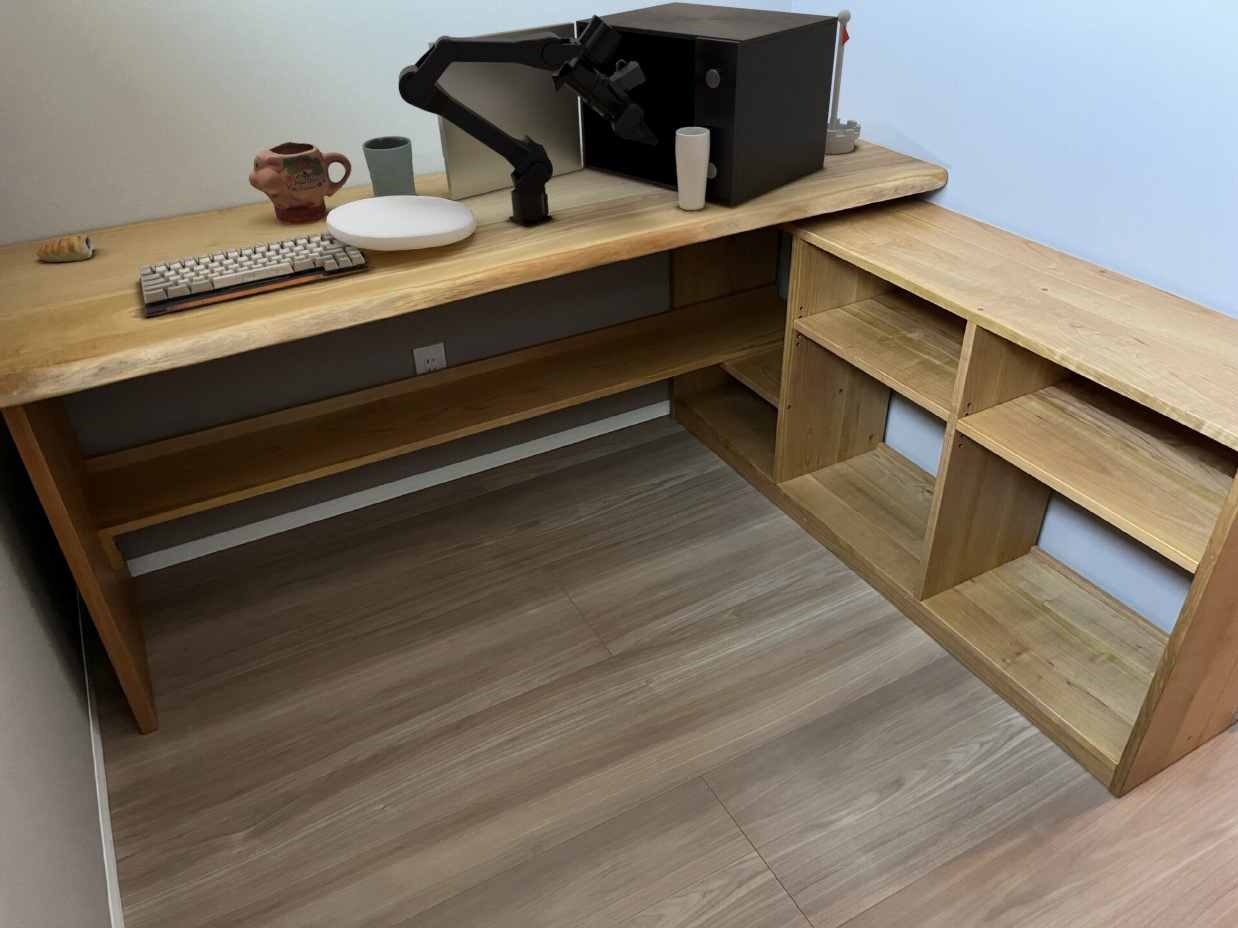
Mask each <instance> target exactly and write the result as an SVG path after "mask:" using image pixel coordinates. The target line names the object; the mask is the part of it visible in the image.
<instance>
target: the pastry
mask: <svg viewBox="0 0 1238 928" xmlns="http://www.w3.org/2000/svg"><path fill="white" fill-rule="evenodd" d="M93 250H95V243H94V242H93V241H92V239H91V238H90V236H89V235H88V234H86V233H83V234H80V235H68V236H63V237H62V238H56V239H55V240H53V241H51V242H49V243H47V244H45V245H43V246H41V247H39V248H38V250H36V252H35V254H36V255H37V257H38V258H39V259H40V260H42V261H44V262H50V263H53V262H54V263H55V262H56V263H57V262H58V263H60V262H73V261H84V260H86V259H90V258H91V257H92V255H93Z"/></svg>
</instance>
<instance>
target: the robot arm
mask: <svg viewBox="0 0 1238 928" xmlns="http://www.w3.org/2000/svg"><path fill="white" fill-rule="evenodd" d="M599 17H600V16H598V15H597V14H593V15H592V16H591V17H590V18H591V20H590V22H589V24H588V26H587V27H586V29H585V30H584V31H583V33H582V34H581V36H580V37H579V38H578V40H577V37H575V38H572V37H571V38H559V37H558V36H557V35H556V34H554V33H552V32H540V33H535V34H529V35H526V36H522V37H518V38H467V37H468V36H465V37H464V36H463V37H461V36H459V37H458V36H457V37H456V36H450V35H441V36H439V37H438V38H437V39H436V40H435V42H436V43H435V44H434V45H433V46H432V47H431V48H430V49H429V48H428V50H427V51H425V53H424V54H423V55H422V56H421V57H419V59H418V60H417V61H416V62H415V63H414V64H409V65H407V66H405V67H404V68H402V69H401V71H400V72H399V75H398V92H399V95H400V98H401V99H402V100H403V101H404V102H405V103H406V104H408V105H411V106H413V107H415V108H417V109H419V110H422V111H425V112H427V113H431V114H433V115H439V116H442V117H443V118H445V119H446V120H448V121H449V122H451V123H452V124H454V125H455V126H457V127H459V128H460V129H462V130H463V131H465V132H466V133H468V134H469V135H471V136H472V137H474V138H475V139H477V140H478V141H480V142H481V143H483V144H484V145H486V146H487V147H489V148H490V149H492V150H494V151H495V152H497V153H498V154H500V155H501V156H503V157H504V158H505V159H506V160H507V161H508V162H509V163H510V164H511V165H512V166H513V167H514V168H515V169H514V171H513V172H512V173H511V178H512V181H513V184H514V186H513V187H514V188H513V189H512V190H510V196H511V206H512V215H511V216H509V217H508V220H509V221H510V222H514V223H516V224H519V225H522V226H524V227H525V228H529V227H532V226H535V225H539V224H542V223H545V222H549V221H552V220H553V216H552V215H549V213H550V212H549V211H550V209H549V197H548V193H547V192H546V191H547V190H546V183H548V182H549V181H550V180H551V179H552V177H553V176H552V174H553V166H552V163H551V161H550V159H549V157H548V155H547V153H546V151H545V149H544V147H543V145H541V144H537V143H536V142H534V141H533V140H532V139H531V138H530V137H529V136H528V135H525V137H524V140H523V141H522V140H519V139H516V138H513V137H511V136H510V135H508V134H507V133H505V132H504V131H502V130H501V129H500V128H498V127H497V126H495V125H494V124H492V123H491V122H489V121H488V120H486V119H485V118H483V117H482V116H480V115H479V114H477V113H476V112H474V111H473V110H471V109H470V108H468V107H467V106H465V105H464V104H462V103H461V102H459V101H458V100H456V99H455V98H453V97H452V96H451V95H449V94H448V93H447V91H446V90H445V89H444V88H443V87H442V86H441V85H440V84H439V83H438V82H437V81H438V79H439V78H440V77H441V75H442V74H443V73H444V71H445V70H446V69H447V67H448V66H449V65H450V64H451V63H452V62H495V63H519V64H523V65H526V66H530V67H533V68H538V69H543V70H548V71H556V70H558V69H560V68H561V69H560V70H559V72H558V73H555V74H551V75H550V76H551V78H552V87H553V88H554V90H555V91H556V92H558V91H559V89H560V88H561V87H562V85H563V84H564V85H565V86H567V87H568V88H569V89H570V90H571V91H573V92H574V93H575V94H576V95H577V96H578V98H579V99H580V98H581V99H582V100H583V101H585V102H586V104H587V105H588V106H590V107H591V108H593V109H594V110H595V111H597V112H598V113H599V114H600V115H602V117H603V118H604V119H605V120H606V121H610V122H611V125H612V129H613V130H614V131H615V132H616V133H617V134H618V135H619V136H620V137H622V138H625V139H626V138H627V139H631V140H635V141H639V142H643V143H647V144H651V145H654V146H656V145H657V143H658V142H659V141H658V139H657V138H656V137H655V136H654V134H653V133H652V132H651V130H650V129H649V128H648V126H647V125H646V124H645V123H644V110H643V109H642V108H641V107H640V106H639V105H638V104H636V103H635V102H634V101H633V100H630V97H629V95H628V94H627V93H626V92H628V91H630V90H631V89H633V88H634V87H636V86H637V85H639V84H642V83H644V82H645V81H646V77H645V75H644V74H643V72H642V70H641V68H640V66H639V64H638V63H637V62H636V61H633V62H632V61H630V63H627V62H626V61H624V60H623V59H621V60H620V61H618V62H617V63H616V72H614V75H612V76H611V77H610V78H608V77H607V76H606V75H605V74H604V75H602V74H601V73H599V72H598V71H597V70H596V69H595V68H594V67H593V66H591V65H590V64H589V63H588V62H587V61H586V60H584V59H583V58H582V57H583V56H584V55H586V56H587V57H588V58H589V59H590V60H591V61H592V62H594V63H595V64H596V65H597V66H598V65H599V63H600V64H601V65H602V64H603V63H604V64H607V63H608V61H609V60H610V58H611V57H612V56H613V54H614V53H615V52H616V50H617V49H618V47H619V46H620V45H621V43H622V42H623V41H624V38H623V37H622V36H621V35H620V34H619V33H618V32H617V31H615V30H614V29H613V28H612V27H611V26H609V25H608V24H606V23H605V22H604V21H602V20H601V19H600V18H599ZM570 59H572V60H571V61H570V63H569V62H567V61H568V60H570ZM565 61H566V62H565Z"/></svg>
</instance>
